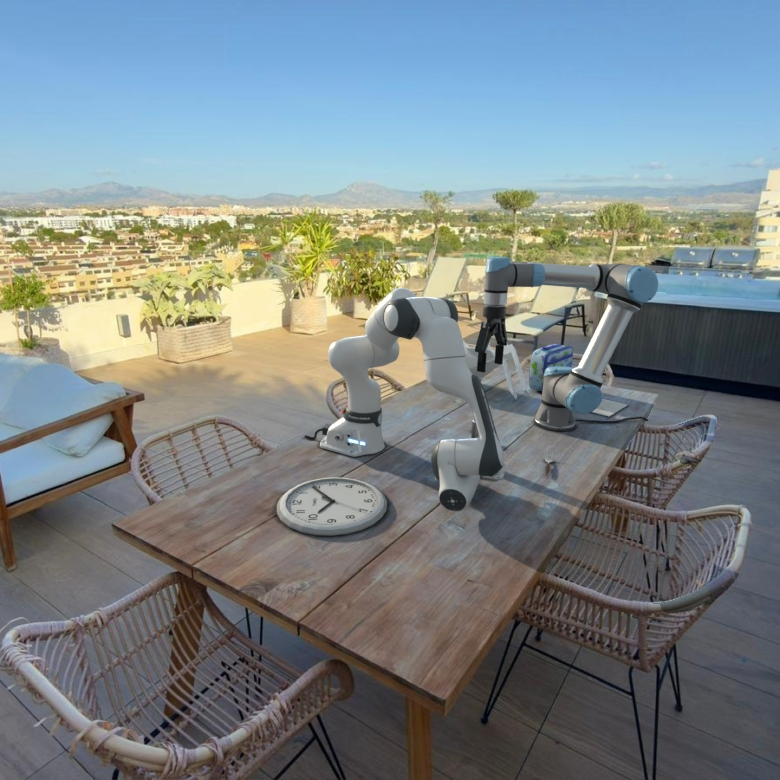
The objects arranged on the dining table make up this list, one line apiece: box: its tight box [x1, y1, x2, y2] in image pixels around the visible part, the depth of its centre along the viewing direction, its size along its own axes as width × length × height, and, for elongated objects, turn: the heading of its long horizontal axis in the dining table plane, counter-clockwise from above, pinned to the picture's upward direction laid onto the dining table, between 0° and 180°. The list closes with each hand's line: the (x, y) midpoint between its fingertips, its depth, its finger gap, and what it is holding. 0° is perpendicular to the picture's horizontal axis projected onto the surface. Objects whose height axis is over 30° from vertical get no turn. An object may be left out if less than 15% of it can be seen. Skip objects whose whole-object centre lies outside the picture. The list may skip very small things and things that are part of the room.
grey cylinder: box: [470, 417, 479, 438], centre depth 166 cm, size 5×5×17 cm
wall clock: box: [276, 476, 388, 537], centre depth 142 cm, size 30×2×30 cm
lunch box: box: [528, 343, 574, 392], centre depth 248 cm, size 26×11×21 cm, turn 134°
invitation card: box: [591, 398, 629, 418], centre depth 226 cm, size 21×1×15 cm
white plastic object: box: [463, 339, 531, 400], centre depth 245 cm, size 37×45×31 cm
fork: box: [544, 451, 555, 476], centre depth 168 cm, size 3×16×2 cm, turn 160°
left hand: (474, 455), depth 159 cm, fingers open, 8 cm apart
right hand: (489, 367), depth 178 cm, fingers open, 13 cm apart
